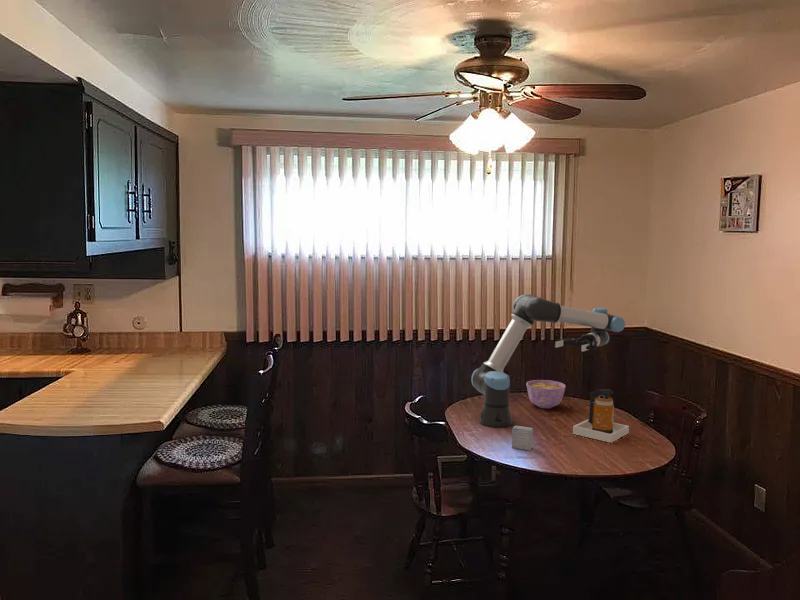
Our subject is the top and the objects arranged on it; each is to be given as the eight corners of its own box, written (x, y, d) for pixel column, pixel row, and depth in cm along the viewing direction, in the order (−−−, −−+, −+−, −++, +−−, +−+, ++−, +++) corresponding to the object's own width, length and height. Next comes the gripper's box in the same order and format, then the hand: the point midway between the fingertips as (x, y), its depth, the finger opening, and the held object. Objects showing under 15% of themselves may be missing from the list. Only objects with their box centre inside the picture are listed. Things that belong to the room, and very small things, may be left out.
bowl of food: (518, 407, 340) (519, 385, 338) (534, 399, 356) (535, 378, 355) (556, 414, 328) (557, 391, 327) (570, 405, 345) (571, 383, 343)
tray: (611, 444, 284) (611, 435, 283) (572, 434, 296) (573, 426, 295) (628, 434, 297) (629, 425, 297) (591, 426, 309) (591, 417, 309)
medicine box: (532, 447, 278) (533, 427, 277) (530, 451, 274) (530, 430, 273) (514, 445, 281) (515, 425, 280) (511, 448, 277) (512, 428, 276)
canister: (613, 436, 291) (616, 391, 289) (587, 434, 293) (589, 390, 291) (611, 430, 300) (613, 387, 298) (586, 428, 302) (588, 385, 300)
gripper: (613, 352, 321) (593, 358, 305) (566, 345, 338) (545, 350, 322) (613, 336, 320) (593, 342, 305) (567, 330, 337) (545, 335, 321)
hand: (568, 346), depth 313 cm, fingers open, 13 cm apart
